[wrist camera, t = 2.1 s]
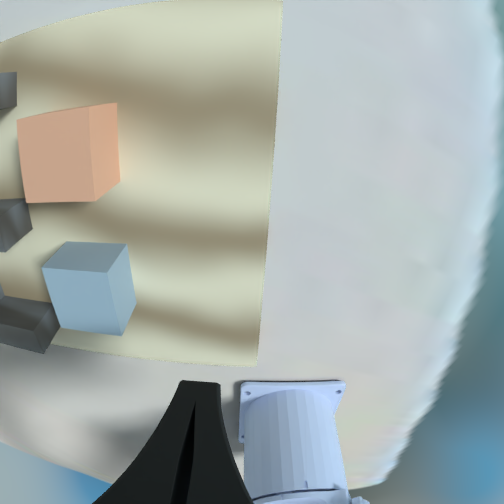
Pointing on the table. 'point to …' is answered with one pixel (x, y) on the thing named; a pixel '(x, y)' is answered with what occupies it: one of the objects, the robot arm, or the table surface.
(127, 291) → the slate-blue plug
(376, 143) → the table surface
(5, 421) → the table surface
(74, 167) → the peach square block
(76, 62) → the comb board
